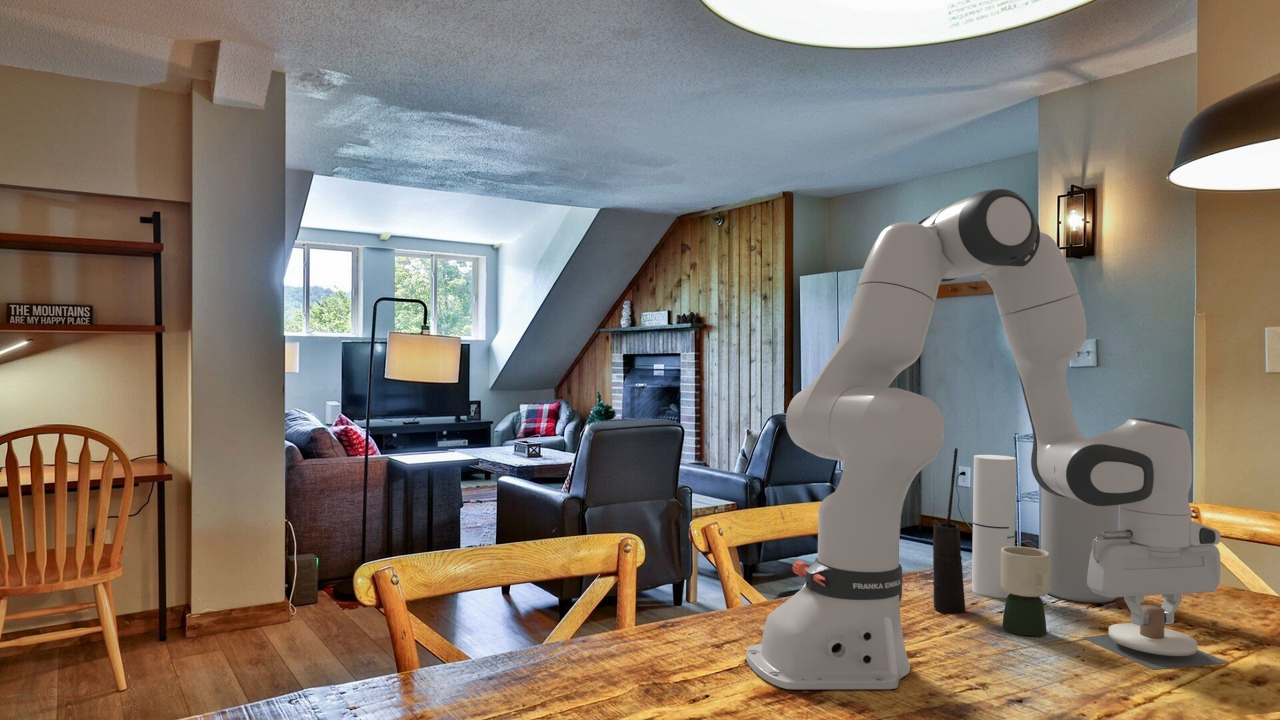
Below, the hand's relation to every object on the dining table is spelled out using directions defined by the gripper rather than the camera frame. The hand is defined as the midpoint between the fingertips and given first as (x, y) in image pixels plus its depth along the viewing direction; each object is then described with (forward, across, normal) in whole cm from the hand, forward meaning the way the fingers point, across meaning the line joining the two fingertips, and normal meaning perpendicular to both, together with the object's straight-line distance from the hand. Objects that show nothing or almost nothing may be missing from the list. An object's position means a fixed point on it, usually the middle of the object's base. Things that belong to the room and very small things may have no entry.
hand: (1152, 623), depth 118 cm
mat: (+4, 0, 0) cm, 5 cm away
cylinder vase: (+4, +12, +28) cm, 31 cm away
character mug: (+5, -13, +11) cm, 18 cm away
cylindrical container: (+5, -3, +32) cm, 33 cm away
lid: (+3, 0, 0) cm, 3 cm away
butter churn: (+5, -18, +25) cm, 31 cm away
